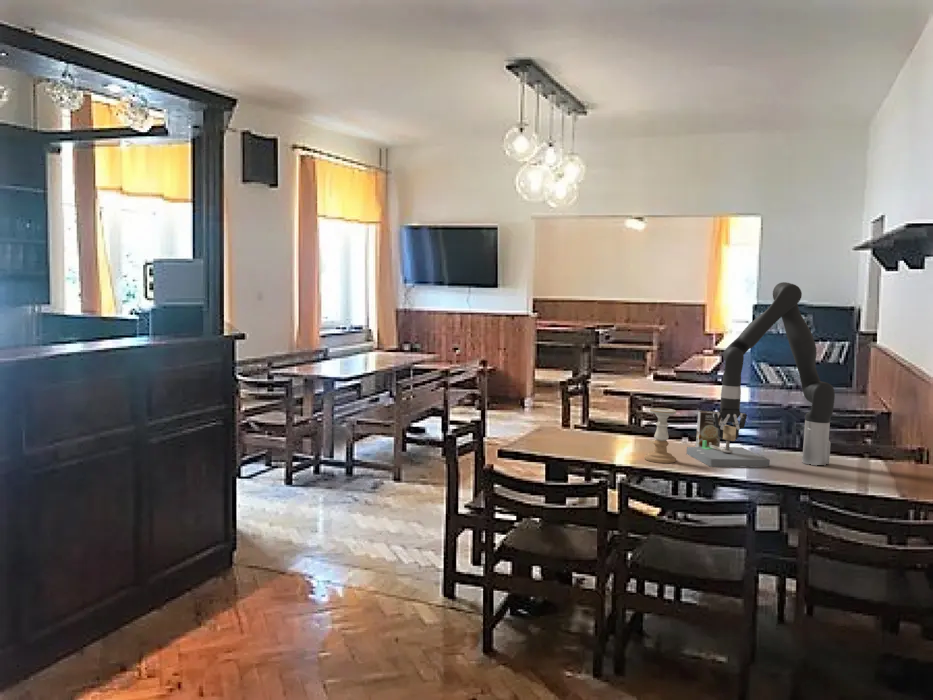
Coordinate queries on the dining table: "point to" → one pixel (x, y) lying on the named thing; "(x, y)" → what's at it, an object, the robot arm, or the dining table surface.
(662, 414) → the candle holder
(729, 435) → the tuning key
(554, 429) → the dining table surface
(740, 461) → the board
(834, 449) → the dining table surface
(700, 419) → the coffee box
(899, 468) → the dining table surface
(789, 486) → the dining table surface
